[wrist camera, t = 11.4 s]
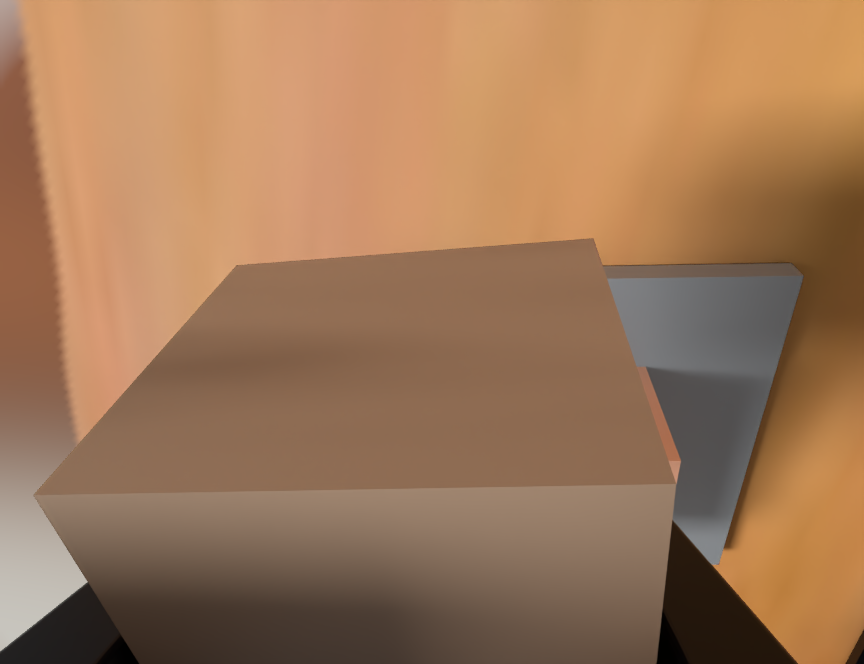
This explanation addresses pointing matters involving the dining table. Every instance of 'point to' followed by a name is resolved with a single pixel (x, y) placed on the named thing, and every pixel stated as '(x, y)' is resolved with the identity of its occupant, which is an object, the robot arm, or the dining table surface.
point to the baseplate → (708, 371)
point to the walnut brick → (382, 470)
